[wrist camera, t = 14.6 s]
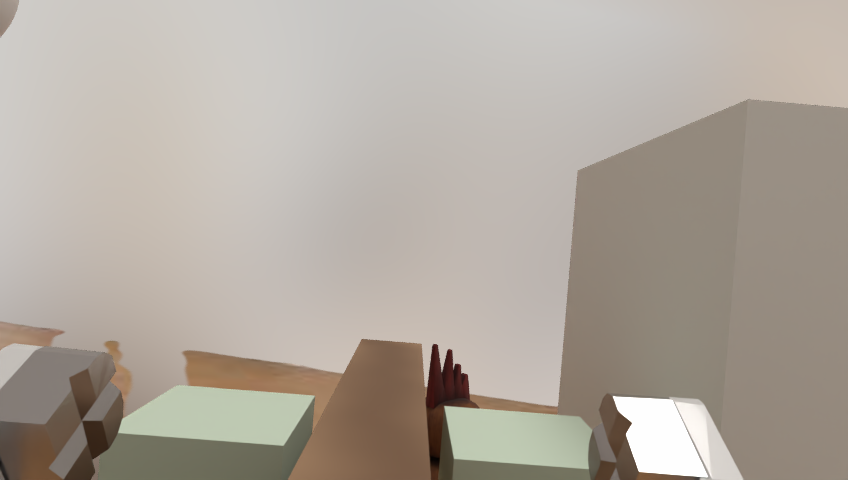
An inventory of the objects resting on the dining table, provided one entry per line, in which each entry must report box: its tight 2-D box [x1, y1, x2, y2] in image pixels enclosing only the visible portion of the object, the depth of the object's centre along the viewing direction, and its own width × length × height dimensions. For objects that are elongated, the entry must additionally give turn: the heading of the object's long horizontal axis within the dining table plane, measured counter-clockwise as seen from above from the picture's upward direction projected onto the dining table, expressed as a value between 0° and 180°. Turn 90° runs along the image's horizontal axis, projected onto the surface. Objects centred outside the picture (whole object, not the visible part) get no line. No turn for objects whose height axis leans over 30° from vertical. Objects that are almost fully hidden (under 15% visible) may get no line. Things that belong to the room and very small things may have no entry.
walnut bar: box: [288, 339, 431, 480], centre depth 18 cm, size 3×24×4 cm, turn 1°
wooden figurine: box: [425, 344, 480, 480], centre depth 40 cm, size 7×6×15 cm
